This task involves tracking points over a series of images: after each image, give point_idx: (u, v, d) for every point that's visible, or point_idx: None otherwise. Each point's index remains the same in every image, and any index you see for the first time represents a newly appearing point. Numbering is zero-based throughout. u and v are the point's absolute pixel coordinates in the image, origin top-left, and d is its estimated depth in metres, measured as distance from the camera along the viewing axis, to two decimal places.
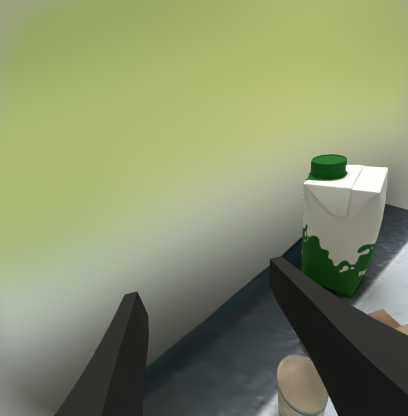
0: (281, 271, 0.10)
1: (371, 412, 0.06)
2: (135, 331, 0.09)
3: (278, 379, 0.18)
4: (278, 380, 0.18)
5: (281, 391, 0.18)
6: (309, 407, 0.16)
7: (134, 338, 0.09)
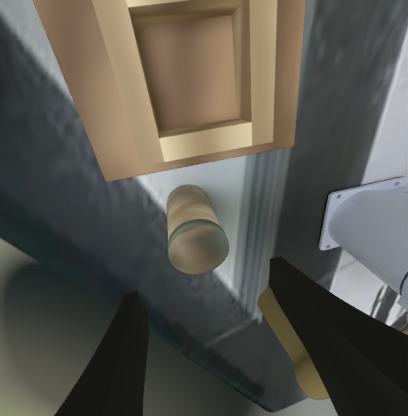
0: (281, 271, 0.10)
1: (371, 412, 0.06)
2: (135, 331, 0.09)
3: (194, 273, 0.14)
4: (195, 273, 0.14)
5: None
6: (224, 250, 0.14)
7: (134, 338, 0.09)
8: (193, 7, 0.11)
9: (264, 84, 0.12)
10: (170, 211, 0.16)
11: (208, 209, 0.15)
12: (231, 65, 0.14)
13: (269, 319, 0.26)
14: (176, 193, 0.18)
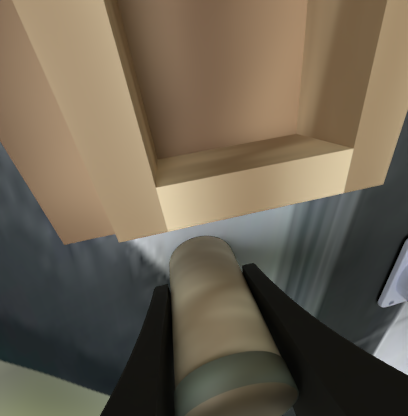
0: (250, 279, 0.09)
1: None
2: (169, 322, 0.09)
3: None
4: None
5: None
6: (287, 403, 0.07)
7: (169, 329, 0.09)
8: None
9: (400, 64, 0.05)
10: (177, 297, 0.09)
11: (247, 301, 0.08)
12: (300, 32, 0.07)
13: None
14: (186, 255, 0.11)
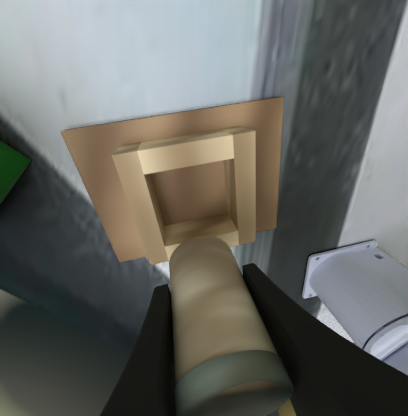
0: (250, 279, 0.09)
1: None
2: (169, 322, 0.09)
3: None
4: None
5: None
6: (282, 399, 0.07)
7: (169, 329, 0.09)
8: None
9: (247, 207, 0.16)
10: (177, 295, 0.09)
11: (246, 302, 0.09)
12: (222, 179, 0.17)
13: None
14: (186, 254, 0.11)
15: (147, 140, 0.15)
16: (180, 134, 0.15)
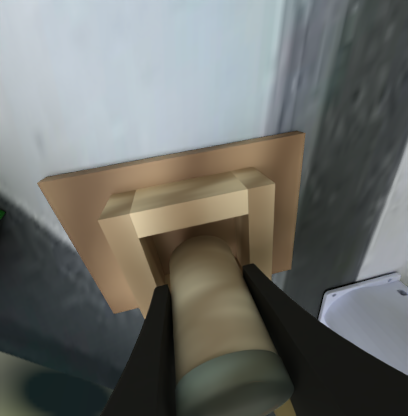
0: (250, 279, 0.09)
1: None
2: (169, 322, 0.09)
3: None
4: None
5: None
6: (282, 398, 0.07)
7: (169, 329, 0.09)
8: None
9: (262, 263, 0.13)
10: (178, 295, 0.09)
11: (246, 301, 0.09)
12: (232, 224, 0.15)
13: None
14: (187, 253, 0.11)
15: (143, 187, 0.12)
16: (182, 179, 0.13)
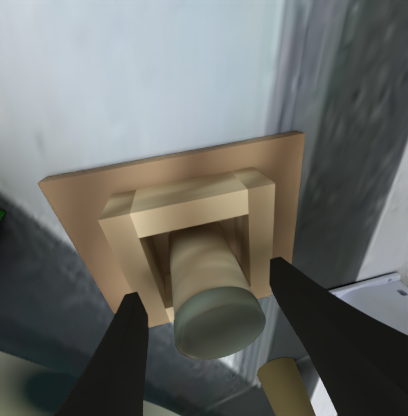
0: (281, 271, 0.10)
1: (371, 412, 0.06)
2: (135, 331, 0.09)
3: (212, 358, 0.10)
4: (213, 358, 0.10)
5: None
6: (257, 329, 0.09)
7: (134, 338, 0.09)
8: None
9: (262, 263, 0.13)
10: (175, 258, 0.11)
11: (231, 259, 0.11)
12: (232, 224, 0.15)
13: (268, 396, 0.27)
14: (183, 228, 0.13)
15: (143, 187, 0.12)
16: (182, 179, 0.13)
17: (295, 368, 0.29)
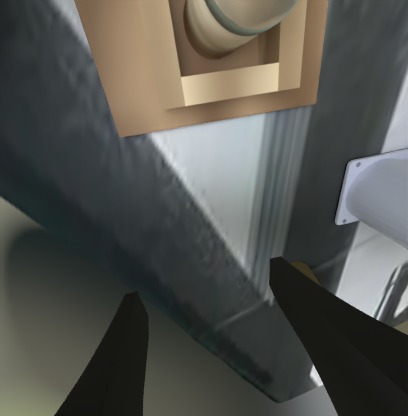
0: (281, 271, 0.10)
1: (371, 412, 0.06)
2: (135, 331, 0.09)
3: (243, 25, 0.08)
4: (244, 26, 0.08)
5: (260, 29, 0.08)
6: None
7: (134, 338, 0.09)
8: None
9: (294, 16, 0.11)
10: None
11: None
12: None
13: None
14: None
15: None
16: None
17: (311, 271, 0.27)
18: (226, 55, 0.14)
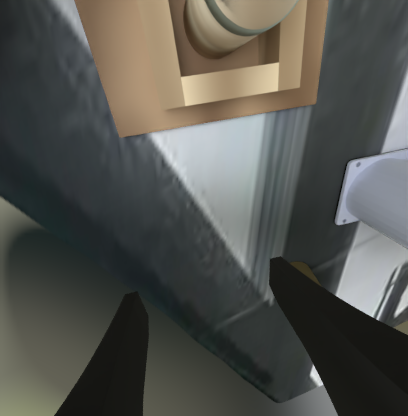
0: (281, 271, 0.10)
1: (371, 412, 0.06)
2: (135, 331, 0.09)
3: (243, 25, 0.08)
4: (244, 26, 0.08)
5: (261, 29, 0.08)
6: None
7: (134, 338, 0.09)
8: None
9: (294, 16, 0.11)
10: None
11: None
12: None
13: None
14: None
15: None
16: None
17: (311, 271, 0.27)
18: (226, 55, 0.14)
